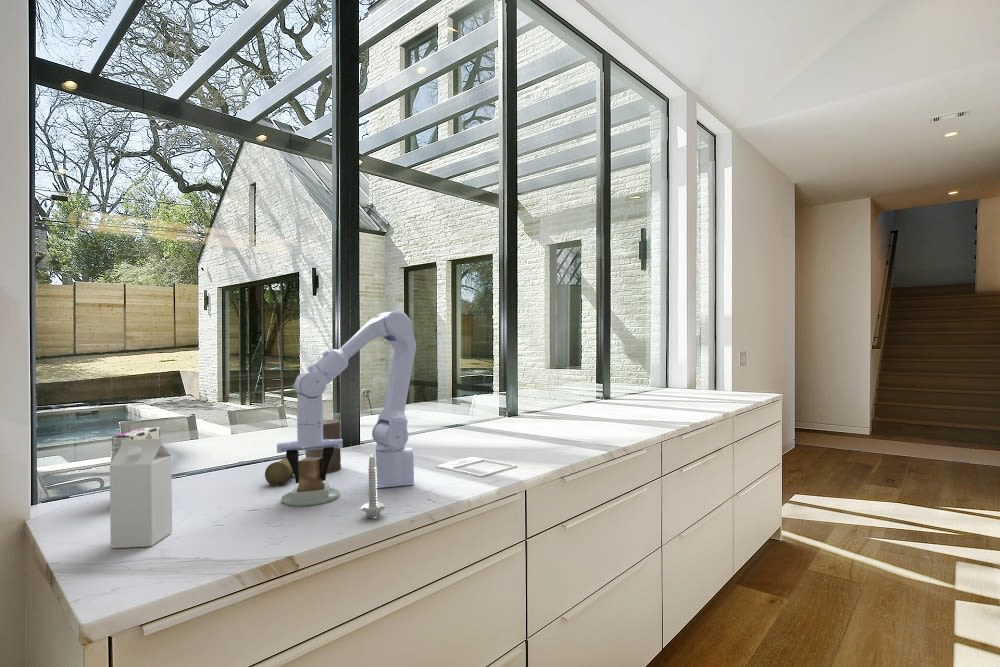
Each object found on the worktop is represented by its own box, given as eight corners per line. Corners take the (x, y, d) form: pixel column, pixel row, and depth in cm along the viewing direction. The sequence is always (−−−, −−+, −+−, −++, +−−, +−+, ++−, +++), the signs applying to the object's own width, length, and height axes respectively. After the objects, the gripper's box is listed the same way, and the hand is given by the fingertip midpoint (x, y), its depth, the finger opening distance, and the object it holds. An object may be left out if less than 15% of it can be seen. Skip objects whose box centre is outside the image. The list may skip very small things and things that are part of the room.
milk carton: (133, 534, 103) (132, 436, 103) (172, 533, 104) (171, 435, 104) (110, 549, 96) (109, 443, 96) (151, 547, 97) (150, 442, 97)
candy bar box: (141, 494, 131) (140, 427, 131) (162, 493, 131) (161, 426, 132) (111, 508, 120) (110, 435, 120) (134, 507, 120) (133, 434, 120)
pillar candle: (348, 467, 154) (347, 416, 155) (320, 475, 146) (319, 420, 146) (325, 464, 160) (324, 414, 160) (297, 471, 151) (296, 418, 152)
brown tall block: (322, 486, 127) (322, 457, 127) (315, 491, 123) (314, 461, 123) (306, 486, 128) (306, 457, 128) (298, 491, 124) (298, 461, 124)
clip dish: (339, 487, 134) (339, 478, 134) (340, 502, 121) (340, 492, 121) (284, 492, 130) (284, 483, 130) (278, 509, 117) (278, 498, 117)
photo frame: (472, 456, 164) (517, 464, 152) (472, 459, 164) (517, 468, 152) (436, 464, 153) (481, 474, 141) (436, 468, 153) (481, 479, 141)
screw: (376, 511, 115) (389, 516, 111) (356, 517, 111) (369, 522, 108) (375, 450, 115) (388, 453, 111) (355, 454, 111) (368, 457, 108)
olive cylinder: (282, 457, 137) (293, 450, 148) (260, 469, 136) (273, 461, 147) (293, 478, 137) (304, 469, 148) (271, 490, 136) (284, 480, 147)
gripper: (342, 418, 132) (342, 474, 132) (278, 422, 127) (279, 479, 127) (342, 423, 125) (343, 481, 125) (275, 426, 121) (276, 487, 121)
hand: (310, 480), depth 126 cm, fingers closed on brown tall block, 5 cm apart
